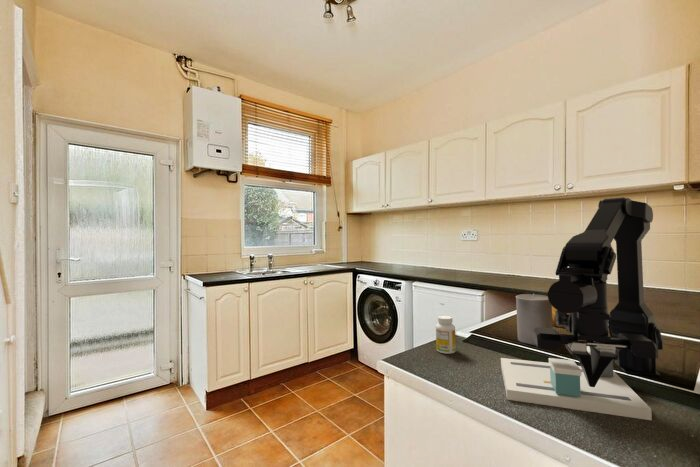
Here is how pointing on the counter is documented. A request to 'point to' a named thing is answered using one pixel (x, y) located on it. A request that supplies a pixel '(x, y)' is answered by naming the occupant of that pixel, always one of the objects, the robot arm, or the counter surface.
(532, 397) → the slotted slider plate
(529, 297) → the pillar candle
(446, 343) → the supplement bottle
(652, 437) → the counter surface
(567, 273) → the robot arm
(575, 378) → the teal knob
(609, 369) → the grey and white slider
